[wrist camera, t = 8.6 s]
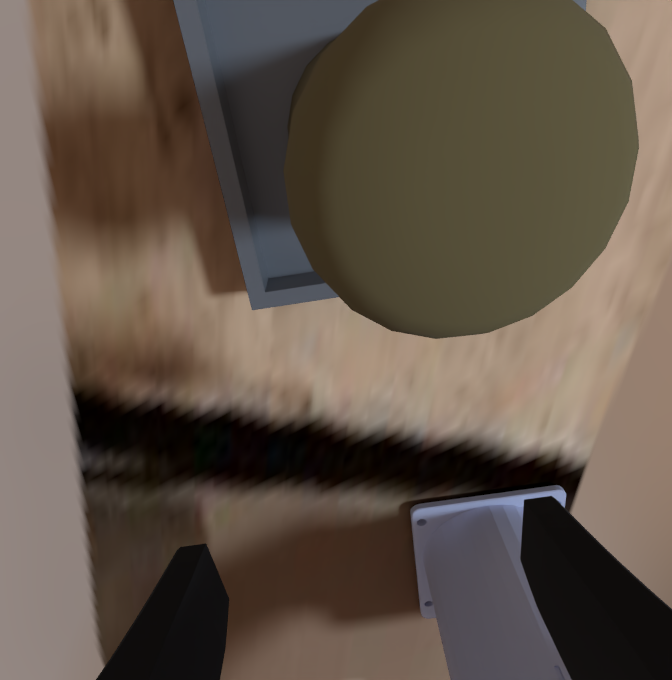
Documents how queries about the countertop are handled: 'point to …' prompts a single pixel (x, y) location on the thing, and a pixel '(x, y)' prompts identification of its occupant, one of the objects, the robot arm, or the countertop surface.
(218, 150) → the tray
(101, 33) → the countertop surface
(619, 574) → the robot arm
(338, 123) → the cork
